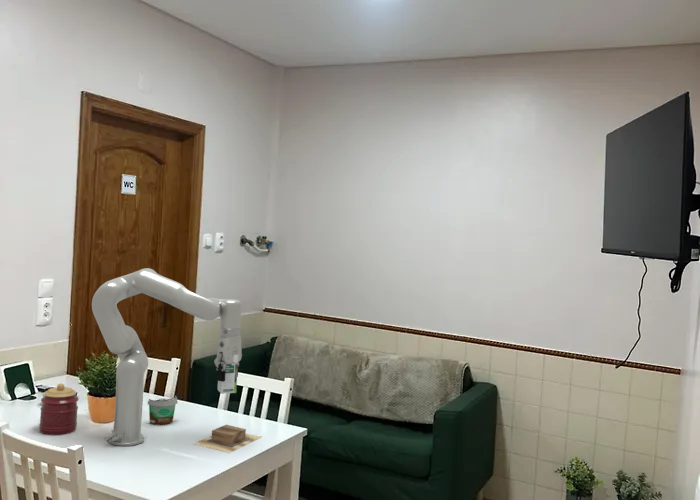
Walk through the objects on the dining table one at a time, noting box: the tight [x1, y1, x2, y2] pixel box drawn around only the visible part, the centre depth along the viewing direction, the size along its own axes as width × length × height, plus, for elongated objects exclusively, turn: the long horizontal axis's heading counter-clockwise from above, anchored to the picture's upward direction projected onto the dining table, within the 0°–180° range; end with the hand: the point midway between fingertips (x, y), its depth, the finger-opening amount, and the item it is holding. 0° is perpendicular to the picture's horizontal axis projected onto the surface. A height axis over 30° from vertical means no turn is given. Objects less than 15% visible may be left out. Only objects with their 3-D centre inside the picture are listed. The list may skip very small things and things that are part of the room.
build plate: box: [192, 433, 262, 454], centre depth 242 cm, size 22×16×2 cm
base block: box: [211, 424, 247, 446], centre depth 242 cm, size 9×9×4 cm
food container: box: [147, 395, 178, 426], centre depth 260 cm, size 12×6×10 cm, turn 131°
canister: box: [38, 383, 79, 436], centre depth 242 cm, size 13×13×18 cm
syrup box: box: [217, 354, 239, 395], centre depth 241 cm, size 6×6×14 cm
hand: (227, 378), depth 242 cm, fingers closed on syrup box, 7 cm apart
